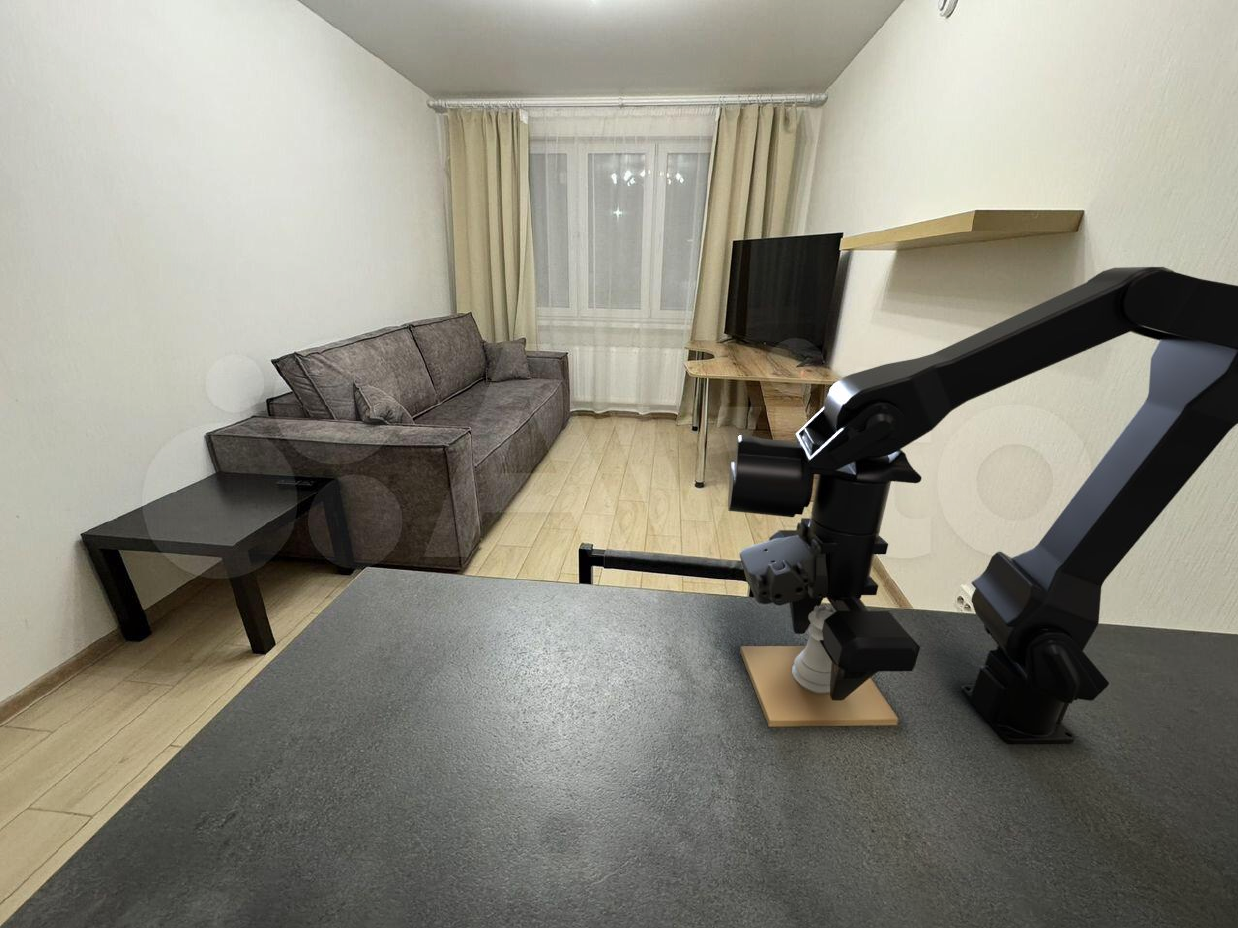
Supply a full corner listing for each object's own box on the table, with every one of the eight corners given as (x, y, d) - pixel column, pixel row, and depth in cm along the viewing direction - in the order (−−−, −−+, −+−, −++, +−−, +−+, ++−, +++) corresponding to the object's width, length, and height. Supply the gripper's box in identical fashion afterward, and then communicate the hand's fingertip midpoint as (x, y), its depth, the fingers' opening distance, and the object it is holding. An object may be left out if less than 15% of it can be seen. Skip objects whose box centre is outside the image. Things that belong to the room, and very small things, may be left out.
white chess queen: (834, 667, 54) (848, 601, 51) (842, 700, 50) (858, 630, 47) (789, 660, 54) (800, 595, 52) (793, 691, 50) (806, 622, 48)
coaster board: (847, 651, 57) (848, 645, 57) (897, 725, 48) (898, 718, 48) (739, 651, 57) (740, 645, 56) (768, 727, 47) (769, 720, 47)
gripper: (729, 479, 54) (714, 606, 60) (793, 578, 37) (764, 744, 42) (833, 481, 55) (810, 606, 60) (945, 578, 37) (898, 743, 43)
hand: (816, 663), depth 51 cm, fingers open, 9 cm apart
